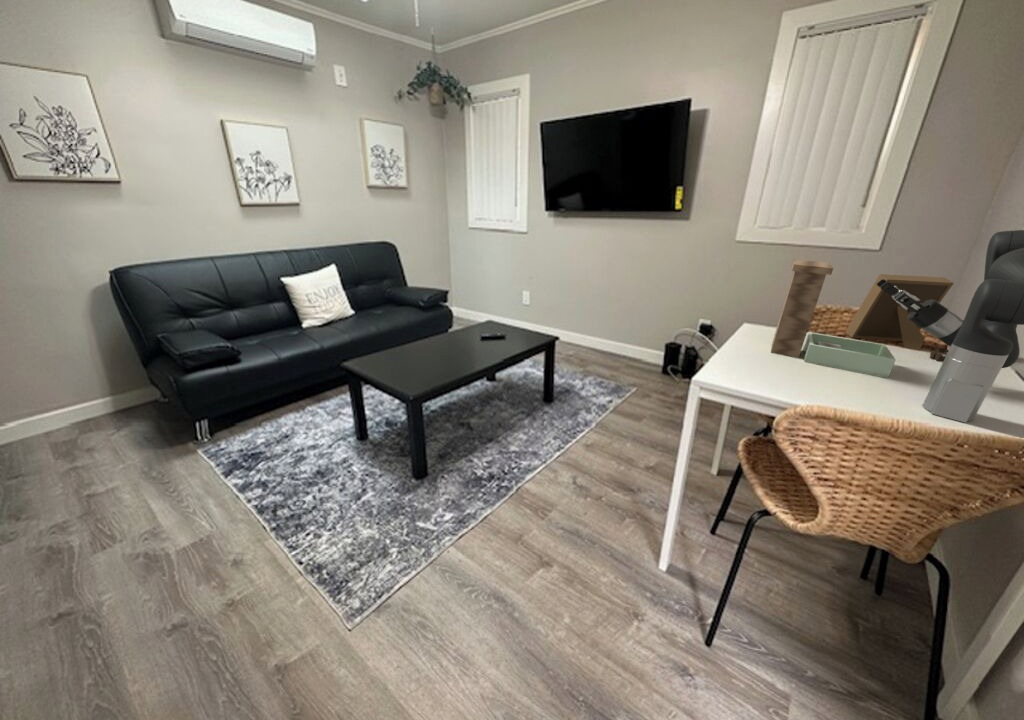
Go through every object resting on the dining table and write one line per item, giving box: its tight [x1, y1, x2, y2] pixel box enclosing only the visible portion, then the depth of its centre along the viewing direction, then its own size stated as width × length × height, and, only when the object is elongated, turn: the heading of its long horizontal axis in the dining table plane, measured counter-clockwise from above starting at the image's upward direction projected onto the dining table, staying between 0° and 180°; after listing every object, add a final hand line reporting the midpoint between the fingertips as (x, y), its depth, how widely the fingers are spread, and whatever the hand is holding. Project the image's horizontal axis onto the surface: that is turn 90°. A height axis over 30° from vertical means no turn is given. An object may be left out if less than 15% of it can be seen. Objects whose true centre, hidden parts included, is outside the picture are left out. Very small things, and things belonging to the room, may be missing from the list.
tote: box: [802, 331, 896, 379], centre depth 131 cm, size 21×16×6 cm
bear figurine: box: [929, 347, 949, 362], centre depth 136 cm, size 18×4×14 cm
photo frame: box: [845, 273, 955, 351], centre depth 148 cm, size 15×22×25 cm
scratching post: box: [770, 258, 834, 359], centre depth 134 cm, size 10×14×30 cm
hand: (881, 283), depth 121 cm, fingers open, 5 cm apart
